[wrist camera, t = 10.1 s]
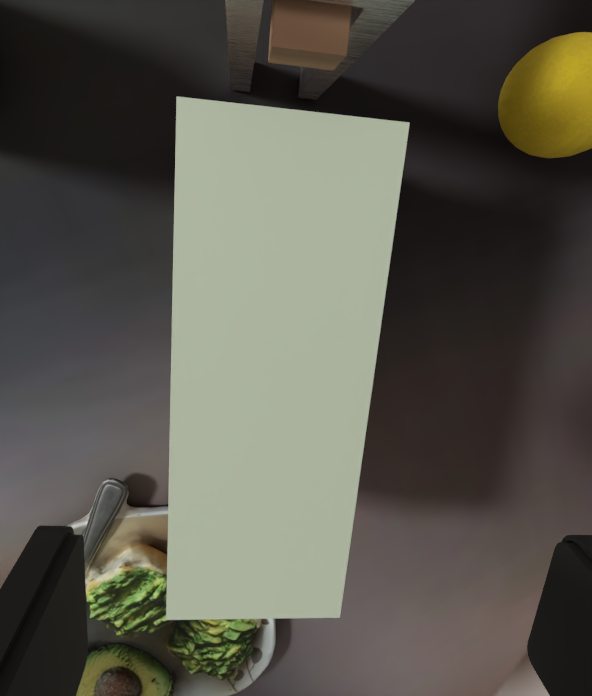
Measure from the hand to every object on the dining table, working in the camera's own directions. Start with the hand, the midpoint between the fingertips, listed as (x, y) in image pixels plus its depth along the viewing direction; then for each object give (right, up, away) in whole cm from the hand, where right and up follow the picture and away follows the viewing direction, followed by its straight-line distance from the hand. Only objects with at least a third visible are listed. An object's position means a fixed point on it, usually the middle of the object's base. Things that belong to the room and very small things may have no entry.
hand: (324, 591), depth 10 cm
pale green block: (-2, +4, +14) cm, 15 cm away
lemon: (+12, +18, +20) cm, 30 cm away
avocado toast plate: (-11, -14, +28) cm, 33 cm away
